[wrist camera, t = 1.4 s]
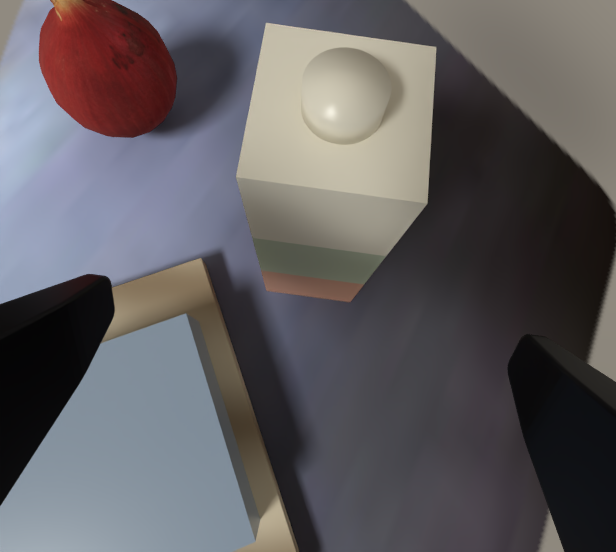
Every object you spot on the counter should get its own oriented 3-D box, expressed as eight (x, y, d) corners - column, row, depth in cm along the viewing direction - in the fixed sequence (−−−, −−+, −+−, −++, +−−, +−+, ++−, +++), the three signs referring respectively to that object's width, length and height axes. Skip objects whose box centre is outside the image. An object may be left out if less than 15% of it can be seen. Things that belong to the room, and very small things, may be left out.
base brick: (260, 519, 17) (255, 541, 14) (44, 612, 16) (1, 652, 13) (198, 321, 19) (185, 313, 16) (3, 391, 18) (-41, 392, 15)
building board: (305, 571, 17) (307, 585, 16) (52, 687, 16) (33, 711, 15) (205, 264, 21) (200, 257, 20) (-12, 338, 19) (-31, 335, 18)
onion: (168, 65, 24) (109, -86, 16) (207, 141, 23) (165, 18, 15) (74, 101, 23) (-36, -41, 15) (109, 182, 22) (9, 73, 14)
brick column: (350, 302, 21) (440, 187, 8) (266, 290, 21) (230, 158, 8) (358, 224, 22) (448, 19, 9) (279, 213, 22) (264, -7, 9)
